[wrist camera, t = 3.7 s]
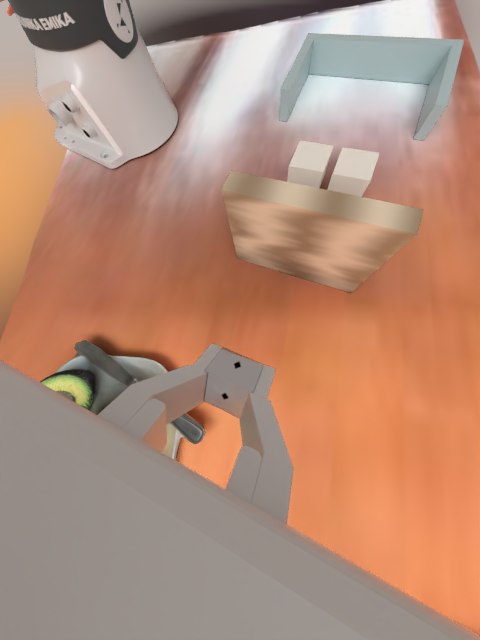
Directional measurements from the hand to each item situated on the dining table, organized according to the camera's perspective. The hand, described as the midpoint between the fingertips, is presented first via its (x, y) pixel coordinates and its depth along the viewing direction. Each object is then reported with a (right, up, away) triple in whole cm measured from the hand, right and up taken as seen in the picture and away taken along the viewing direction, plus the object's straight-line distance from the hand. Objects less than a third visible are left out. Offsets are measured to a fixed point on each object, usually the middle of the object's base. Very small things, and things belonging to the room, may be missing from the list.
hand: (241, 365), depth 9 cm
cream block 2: (+13, +18, +17) cm, 28 cm away
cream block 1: (+9, +20, +18) cm, 28 cm away
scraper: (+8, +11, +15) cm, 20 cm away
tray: (+17, +35, +20) cm, 44 cm away
